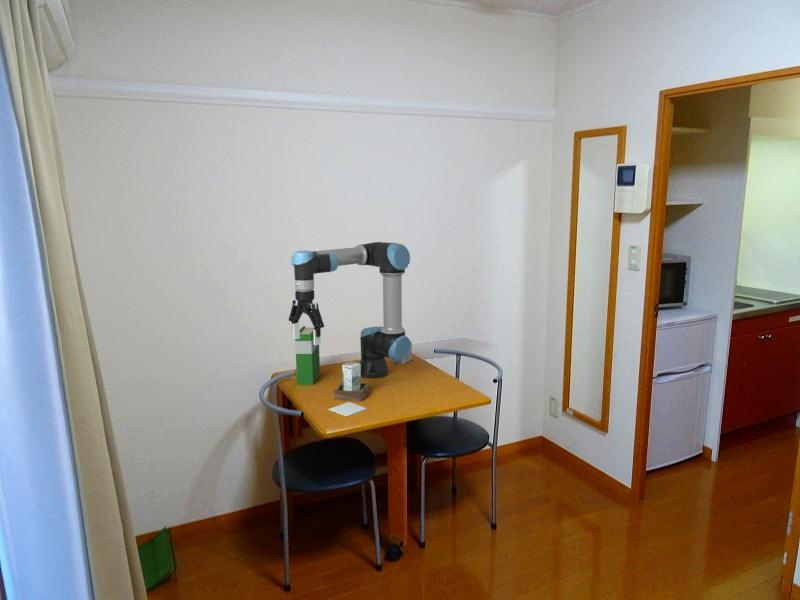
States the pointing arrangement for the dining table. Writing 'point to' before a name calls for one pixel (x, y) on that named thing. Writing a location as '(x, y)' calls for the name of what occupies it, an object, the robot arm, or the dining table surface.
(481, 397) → the dining table surface
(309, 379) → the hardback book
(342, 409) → the grey mat
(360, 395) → the walnut crate
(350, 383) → the syrup box
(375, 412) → the dining table surface
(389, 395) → the dining table surface
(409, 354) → the skincare box
